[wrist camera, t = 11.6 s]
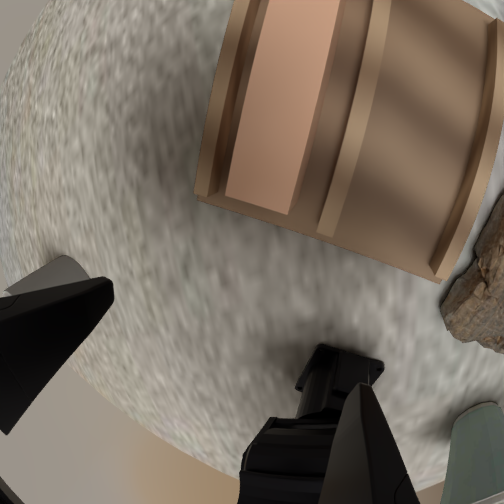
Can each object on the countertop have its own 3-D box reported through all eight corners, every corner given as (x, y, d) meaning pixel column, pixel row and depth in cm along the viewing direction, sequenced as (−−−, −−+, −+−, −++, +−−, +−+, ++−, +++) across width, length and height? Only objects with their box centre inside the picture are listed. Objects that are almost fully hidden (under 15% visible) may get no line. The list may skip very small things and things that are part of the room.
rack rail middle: (333, 229, 17) (332, 237, 16) (318, 223, 17) (315, 232, 16) (392, -20, 9) (394, -31, 7) (377, -24, 9) (378, -36, 7)
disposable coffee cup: (498, 425, 19) (508, 517, 6) (429, 446, 23) (423, 544, 10) (519, 377, 16) (546, 489, 3) (437, 405, 21) (439, 533, 8)
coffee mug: (65, 306, 35) (20, 340, 26) (50, 247, 31) (-5, 279, 22) (126, 341, 32) (76, 391, 23) (112, 275, 27) (45, 324, 19)
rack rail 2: (440, 269, 15) (446, 281, 14) (429, 264, 16) (434, 276, 14) (499, 32, 7) (508, 26, 6) (487, 24, 7) (496, 17, 6)
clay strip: (297, 202, 17) (287, 215, 14) (243, 185, 18) (224, 195, 15) (350, -20, 10) (348, -43, 7) (295, -28, 10) (284, -51, 8)
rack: (436, 277, 17) (439, 284, 16) (203, 197, 20) (196, 200, 19) (498, 29, 7) (504, 25, 7) (259, -42, 11) (254, -48, 10)
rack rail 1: (218, 192, 19) (206, 197, 17) (205, 188, 19) (193, 193, 17) (272, -40, 10) (265, -51, 9) (258, -40, 10) (251, -50, 9)
